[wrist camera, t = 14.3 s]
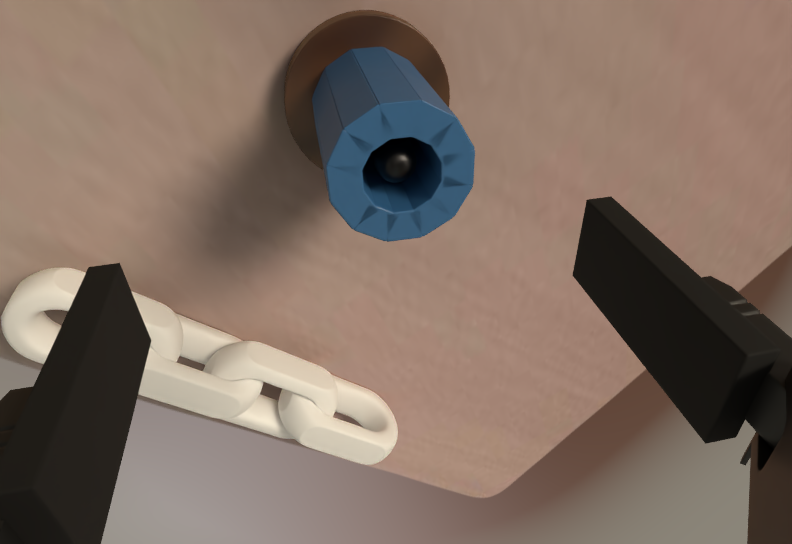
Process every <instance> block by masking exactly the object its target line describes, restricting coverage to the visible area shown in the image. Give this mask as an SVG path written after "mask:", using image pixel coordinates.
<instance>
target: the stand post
mask: <svg viewBox="0 0 792 544" xmlns="http://www.w3.org/2000/svg"><path fill="white" fill-rule="evenodd" d="M370 155H371V158H372V160H373V163H374V165H375V168H376V170H377V172H378V174H379V175H380V176H381V177H382V178H383V179H384V180H386V181H389V182H393V183H398V182H402V181H405V180H407V179H408V178H409V177H410V176H411V175H412V174H413V172H414V170H415V168H416V162H417V160H416V155H415V152H414V150H413V148H412V147H411V145H410V143H409V141H408V139H407V138H396V139H390V140H388V141H387V142H385V143H384V144H383V145H381V146H380V147H378V148H377V149H375V150H374V151H372V152H371V154H370Z"/></svg>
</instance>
